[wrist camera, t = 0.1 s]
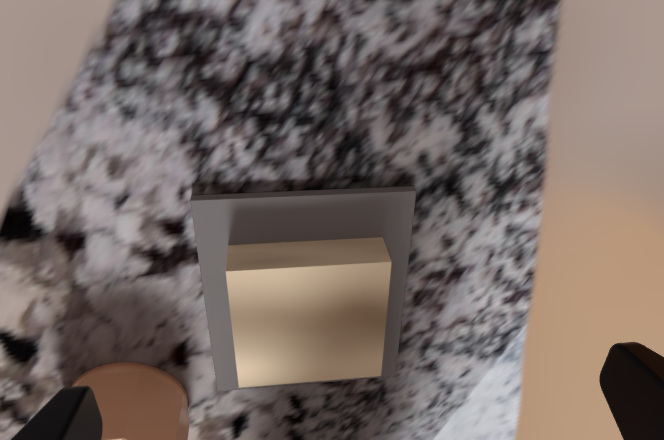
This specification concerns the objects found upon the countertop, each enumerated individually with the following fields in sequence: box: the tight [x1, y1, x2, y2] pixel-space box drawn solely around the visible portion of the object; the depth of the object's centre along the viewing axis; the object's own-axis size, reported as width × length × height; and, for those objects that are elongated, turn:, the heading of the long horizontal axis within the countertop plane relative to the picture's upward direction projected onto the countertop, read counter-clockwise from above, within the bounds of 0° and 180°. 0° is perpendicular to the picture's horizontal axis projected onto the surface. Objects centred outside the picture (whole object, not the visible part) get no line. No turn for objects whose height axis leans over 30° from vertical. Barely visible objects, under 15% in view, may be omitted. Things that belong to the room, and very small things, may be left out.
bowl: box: [71, 362, 189, 440], centre depth 27 cm, size 6×6×5 cm
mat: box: [190, 186, 416, 391], centre depth 26 cm, size 12×10×1 cm
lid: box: [226, 237, 392, 388], centre depth 25 cm, size 7×7×2 cm
